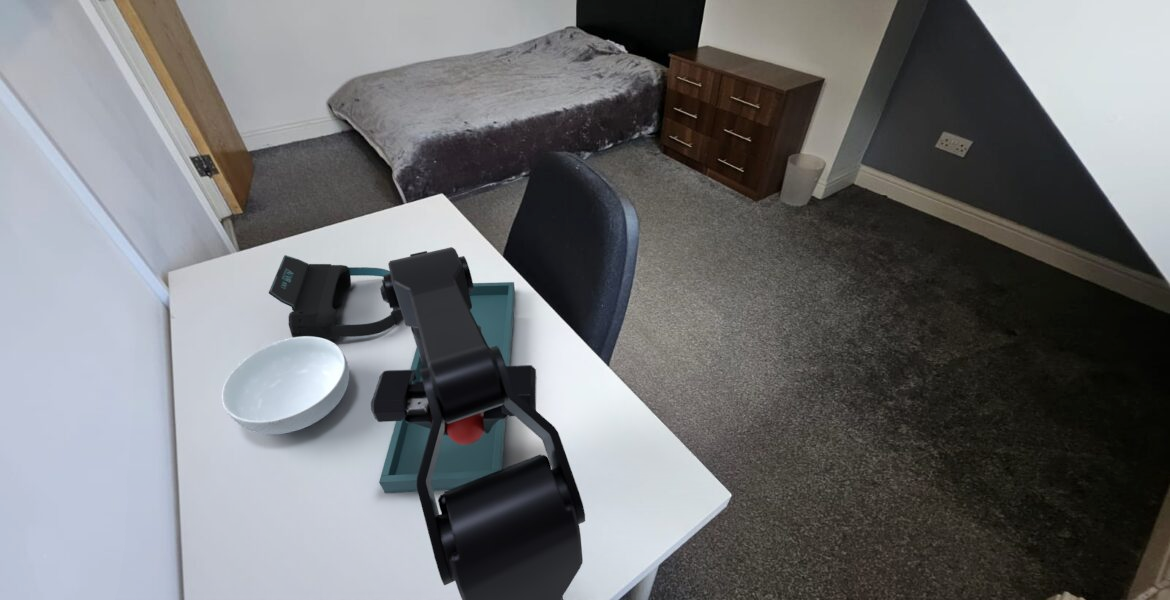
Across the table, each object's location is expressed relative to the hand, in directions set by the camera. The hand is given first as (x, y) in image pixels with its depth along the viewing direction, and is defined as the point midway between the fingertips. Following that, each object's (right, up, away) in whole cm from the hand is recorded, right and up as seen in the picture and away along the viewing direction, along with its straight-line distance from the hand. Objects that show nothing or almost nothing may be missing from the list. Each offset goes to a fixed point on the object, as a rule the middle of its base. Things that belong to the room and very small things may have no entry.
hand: (468, 431), depth 62 cm
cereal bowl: (-30, 0, +14) cm, 34 cm away
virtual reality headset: (-30, +15, +31) cm, 45 cm away
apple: (0, -1, +1) cm, 1 cm away
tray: (-6, +5, +19) cm, 21 cm away
